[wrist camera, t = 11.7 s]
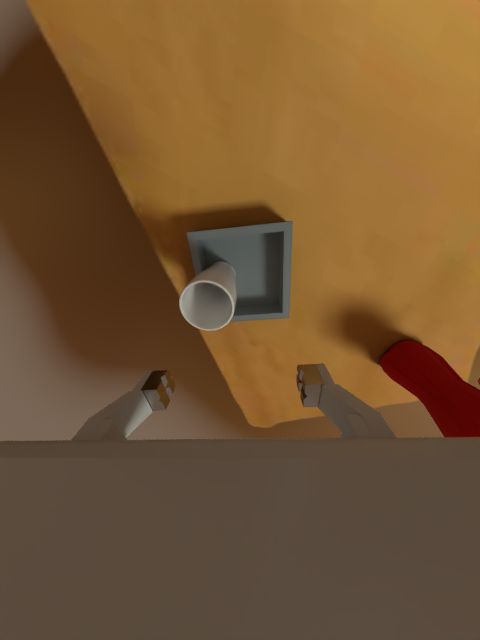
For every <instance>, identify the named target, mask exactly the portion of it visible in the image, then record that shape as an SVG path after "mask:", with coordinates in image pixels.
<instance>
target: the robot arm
mask: <svg viewBox="0 0 480 640" xmlns="http://www.w3.org/2000/svg"><path fill="white" fill-rule="evenodd" d="M297 371H298V374H297V387H298V391H300V392H301V395H300V397H301V401H302V404H303V407H318V408H319V409H320V410H321V411H322V412H323V413H324V414H325V415H326V416H327V417H328V418H329V419H330V420H331V421H332V422H333V423H334V424H335V425H336V426H337V427H338V428H339V429H340V431H342V436H341V438H307V439H306V438H304V439H303V438H302V439H300V438H299V439H193V440H192V439H189V440H188V439H183V440H180V439H179V440H127V437H128V436H129V434H131V433H132V431H134V430H135V429H136V428H137V427H138V425H140V424H141V423H142V422H143V421H144V420H145V419H146V418H147V417H148V416H149V415H150V414H151V413H152V412H153V411H156V410H166V408H167V406H168V404H169V402H170V399H169V397H170V396H171V395H172V394H173V392H174V389H175V382H174V380H173V379H172V378H171V372H170V371H169V370H157V371H146V372H144V374H143V375H142V377H141V378H140V380H139V381H138V382H137V384H136V385H135V387H134V388H133V390H132V391H129V392H128V393H126V394H124V395H123V396H121V397H120V398H119V399H117V400H115V401H114V402H112V403H111V404H109V405H108V406H107V407H105V408H104V409H102V410H101V411H99V412H98V413H96V414H95V415H93V416H92V417H90V418H89V419H88V420H87V421H86V422H85V424H84V425H83V426H82V427H81V429H80V430H79V431H78V432H77V434H76V435H75V436H74V437H73V439H72V440H62V441H61V440H59V441H58V440H56V441H54V440H53V441H0V640H480V437H435V438H434V437H432V438H431V437H425V438H397V437H396V436H395V435H394V433H393V432H392V430H391V429H390V427H389V426H388V424H387V423H386V421H385V420H384V418H383V417H382V415H381V414H380V413H379V412H377V411H376V410H374V409H373V408H372V407H370V406H369V405H367V404H366V403H364V402H363V401H361V400H360V399H358V398H357V397H355V396H354V395H353V394H351V393H350V392H348V391H347V390H345V389H344V388H342V387H341V386H339V385H338V384H335V383H334V381H333V379H332V378H331V376H330V374H329V372H328V370H327V368H326V366H325V365H324V364H323V363H322V364H305V365H298V366H297Z"/></svg>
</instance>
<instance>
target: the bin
mask: <svg viewBox="0 0 480 640" xmlns="http://www.w3.org/2000/svg"><path fill="white" fill-rule="evenodd" d="M292 224H293V221H285V222H276V223H266V224H257V225H248V226H238V227H229V228H220V229H210V230H201V231H193V232H187V233H186V234H187V239H188V243H189V248H190V253H191V257H192V262H193V267H194V272H195V276H196V275H197V274H199V273H200V272H202V271H204V270H205V269H207V268H209V267H210V266H211V265H212V264H214V263H215V262H218V261H224V262H227V263H229V264H230V265H231V266H232V267H233V268H234V270H235V272H236V290H237V300H236V306H235V310H234V314H233V317H232V319H231V320H230V322H234V321H250V320H266V319H282V318H289V306H290V278H291V251H292Z"/></svg>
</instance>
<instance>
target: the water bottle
mask: <svg viewBox="0 0 480 640" xmlns="http://www.w3.org/2000/svg"><path fill="white" fill-rule="evenodd" d="M380 365H381V367H382V369H383V371H384V372H385V373H386V374H387V375H388V376H389V377H390V378H391V379H392V380H394V381H395V382H397V383H398V384H399V385H401V386H402V387H404V388H405V389H406V390H408V391H409V392H411V393H412V394H413V395H415V396H416V397H417V398H418V399H419V400H420V401H421V402H422V403H423V404H424V405H425V407H426V409H427V410H428V412H429V413H430V415H431V417H432V418H433V420H434V421H435V423H436V424H437V426H438V428H439V429H440V431H441V432H442V434H443V435H444V437H480V390H479V389H477V388H475V387H474V386H472V385H470V384H468V383H466V382H465V381H463V380H462V379H461V377H460V376H459V375H458V374H457V373H456V372H455V371H454V370H453V368H452V367H451V366H450V365H449V364H448V363H447V362H446V361H445V360H444V358H443V357H441V356H440V355H439V354H437V353H436V352H434V351H433V350H432V349H430V348H428V347H427V346H424V345H422V344H420V343H417V342H415V341H409V340H406V341H401V342H398V343H397V344H395V345H394V346H392V347H391V349H390V350H389V351H388V352H387V353H386V354H384V355H383V357H382V358H381V360H380ZM478 382H479V384H480V378H479V380H478Z"/></svg>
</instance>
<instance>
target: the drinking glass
mask: <svg viewBox="0 0 480 640" xmlns="http://www.w3.org/2000/svg"><path fill="white" fill-rule="evenodd" d="M236 300H237V290H236V272H235V270H234V268H233V267H232V266H231V265H230V264H229V263H227V262H224V261H218V262H215V263H214V264H212V265H211V266H210V267H209V268H207V269H205V270H204V271H202V272H200V273H199V274H197V275H196V276H195V277H194V278H193V279H192V280H191V281H190V282H189V283H188V284H187V285H186V287H185V288H184V289H183V291H182V292H181V295H180V298H179V307H180V310H181V313H182V315H183V317H184V318H185V319H186V320H187V321H188V322H189V323H190V324H191V325H193V326H194V327H196V328H199V329H202V330H208V331H211V330H217V329H220V328H222V327H224V326H225V325H227V324H228V323H229V322H230V320H231V319H232V317H233V314H234V310H235V306H236Z"/></svg>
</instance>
